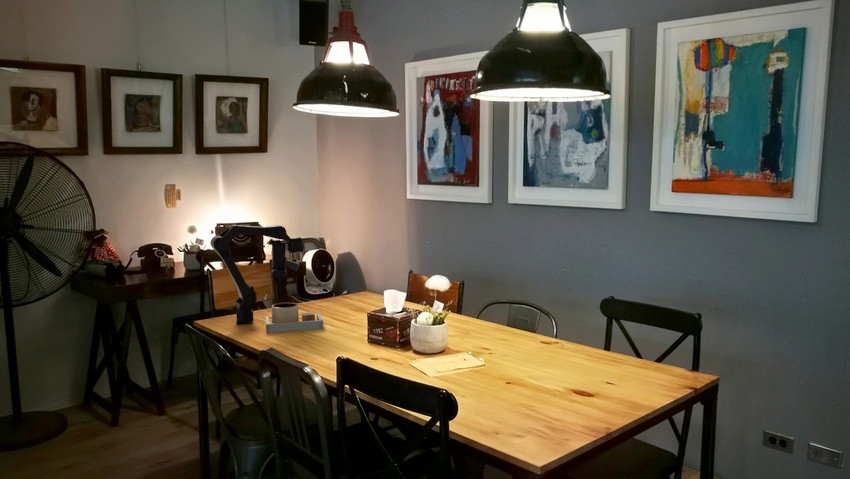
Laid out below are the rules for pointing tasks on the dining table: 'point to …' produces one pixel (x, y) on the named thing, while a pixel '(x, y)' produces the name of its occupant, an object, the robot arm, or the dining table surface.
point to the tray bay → (294, 325)
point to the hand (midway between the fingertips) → (280, 289)
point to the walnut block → (308, 316)
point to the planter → (285, 312)
